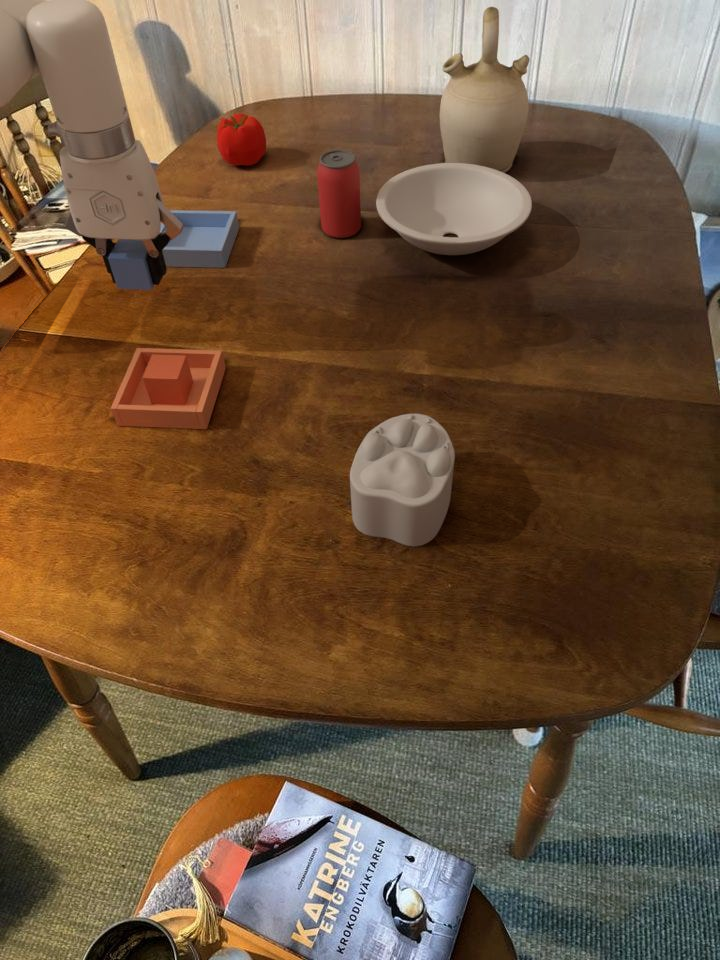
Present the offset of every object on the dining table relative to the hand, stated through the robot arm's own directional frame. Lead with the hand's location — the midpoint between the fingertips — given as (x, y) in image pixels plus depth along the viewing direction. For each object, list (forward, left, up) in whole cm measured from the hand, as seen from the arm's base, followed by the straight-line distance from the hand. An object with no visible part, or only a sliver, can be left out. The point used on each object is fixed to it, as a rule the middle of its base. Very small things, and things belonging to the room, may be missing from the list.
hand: (139, 276), depth 92 cm
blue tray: (-1, +25, -11) cm, 27 cm away
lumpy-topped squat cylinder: (+35, -25, -11) cm, 45 cm away
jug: (+45, +54, -11) cm, 71 cm away
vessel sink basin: (+40, +29, -11) cm, 51 cm away
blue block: (0, 0, 0) cm, 0 cm away
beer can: (+22, +31, -11) cm, 40 cm away
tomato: (+1, +54, -11) cm, 55 cm away
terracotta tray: (+4, -10, -11) cm, 16 cm away
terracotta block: (+4, -10, -11) cm, 15 cm away
